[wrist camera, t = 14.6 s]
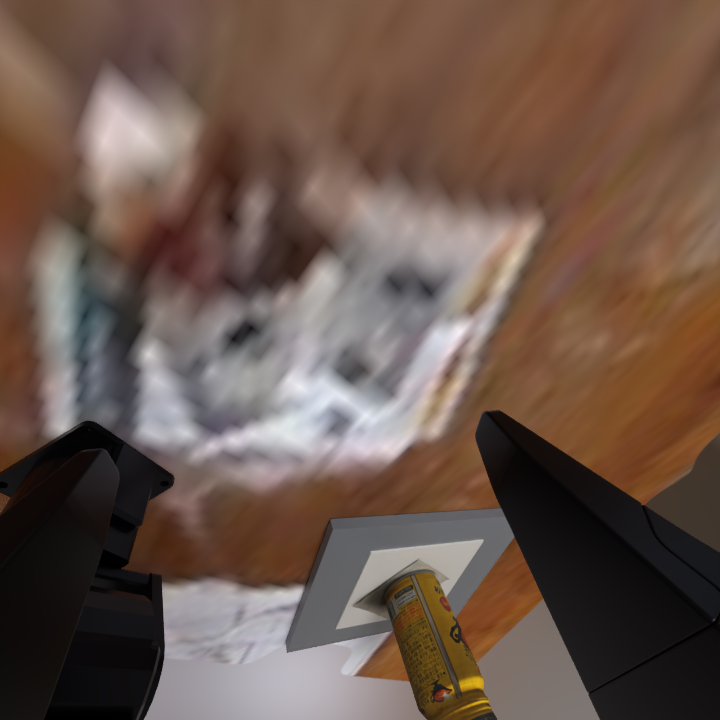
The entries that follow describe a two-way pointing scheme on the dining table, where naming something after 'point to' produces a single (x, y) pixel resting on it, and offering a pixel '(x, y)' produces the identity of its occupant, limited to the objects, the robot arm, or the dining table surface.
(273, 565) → the dining table surface
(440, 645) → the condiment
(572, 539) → the robot arm
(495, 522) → the grey square board
